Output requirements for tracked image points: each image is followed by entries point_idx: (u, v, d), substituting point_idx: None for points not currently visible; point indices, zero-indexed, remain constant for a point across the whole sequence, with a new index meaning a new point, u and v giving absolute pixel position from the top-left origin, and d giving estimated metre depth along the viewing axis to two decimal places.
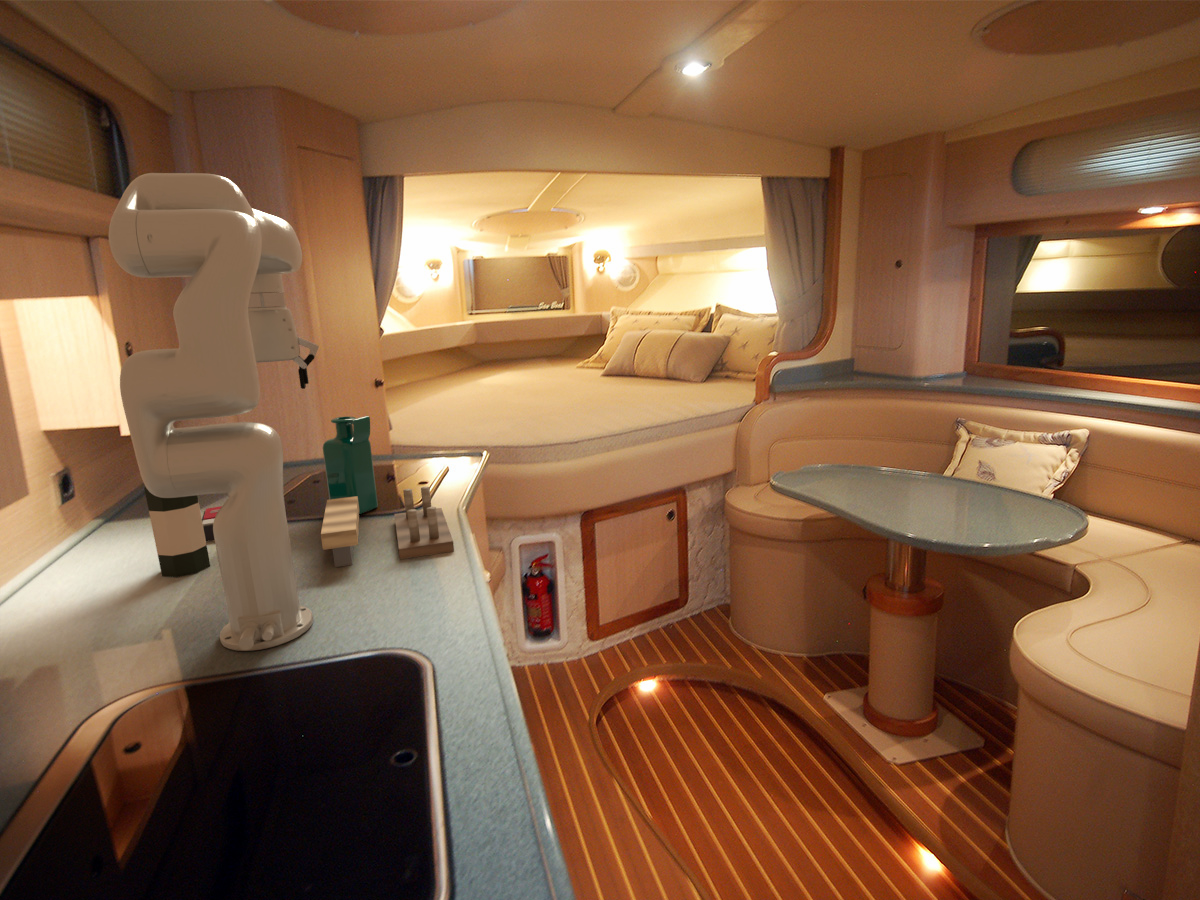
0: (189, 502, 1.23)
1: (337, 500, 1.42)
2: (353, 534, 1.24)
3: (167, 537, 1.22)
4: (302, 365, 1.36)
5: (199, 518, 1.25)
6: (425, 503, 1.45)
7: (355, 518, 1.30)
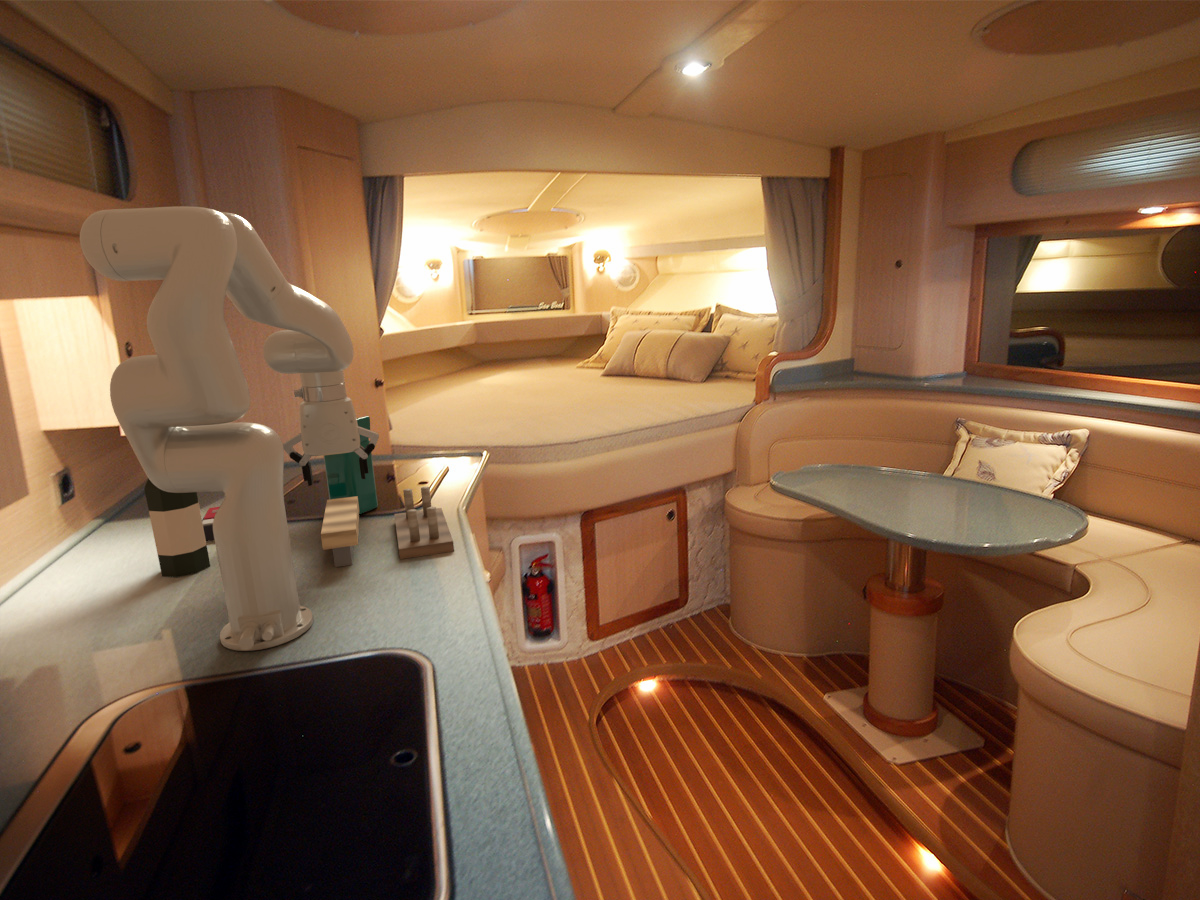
0: (189, 502, 1.23)
1: (337, 500, 1.42)
2: (353, 534, 1.24)
3: (167, 537, 1.22)
4: (363, 455, 1.32)
5: (199, 518, 1.25)
6: (425, 503, 1.45)
7: (355, 518, 1.30)
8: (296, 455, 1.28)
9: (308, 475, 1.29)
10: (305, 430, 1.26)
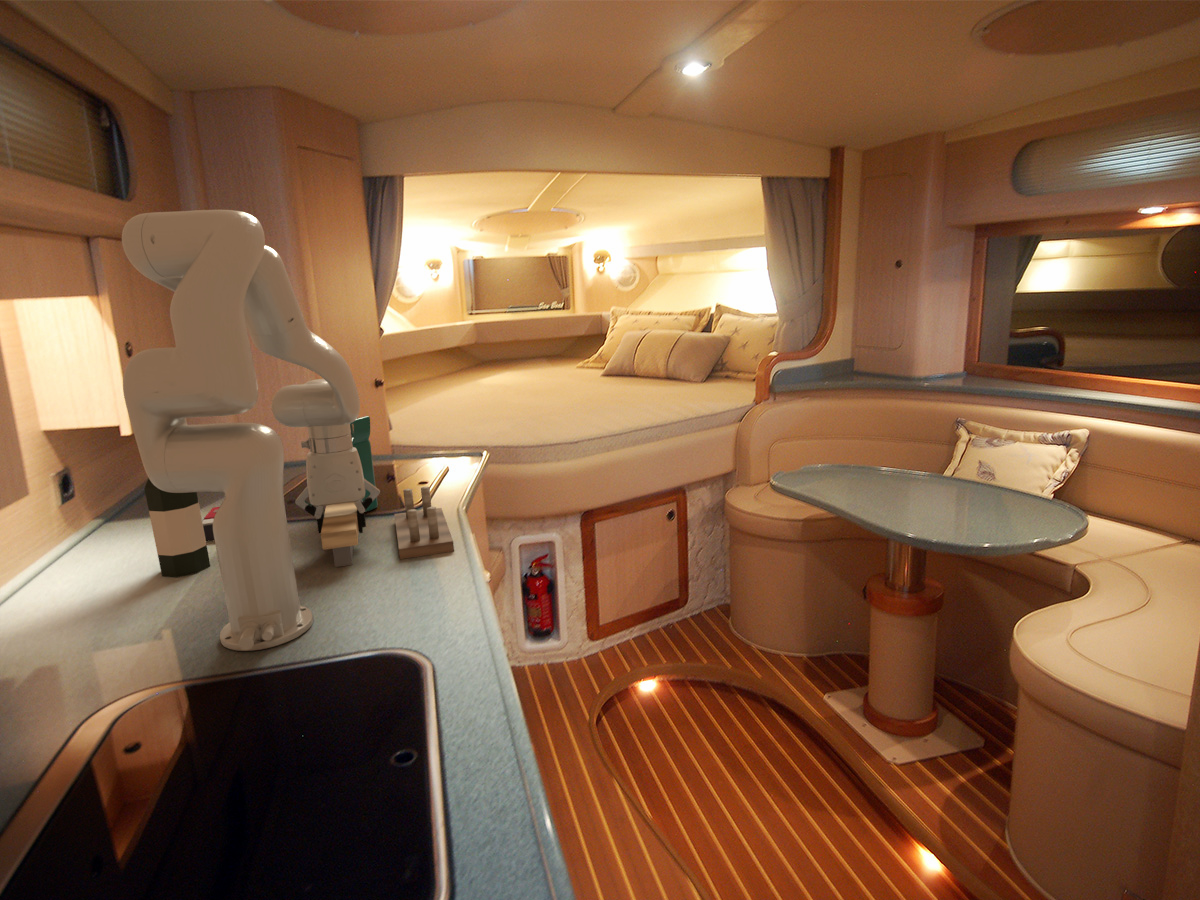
0: (189, 502, 1.23)
1: None
2: (353, 534, 1.24)
3: (167, 537, 1.22)
4: (360, 510, 1.33)
5: (199, 518, 1.25)
6: (425, 503, 1.45)
7: (355, 518, 1.30)
8: (311, 508, 1.30)
9: None
10: (311, 481, 1.28)
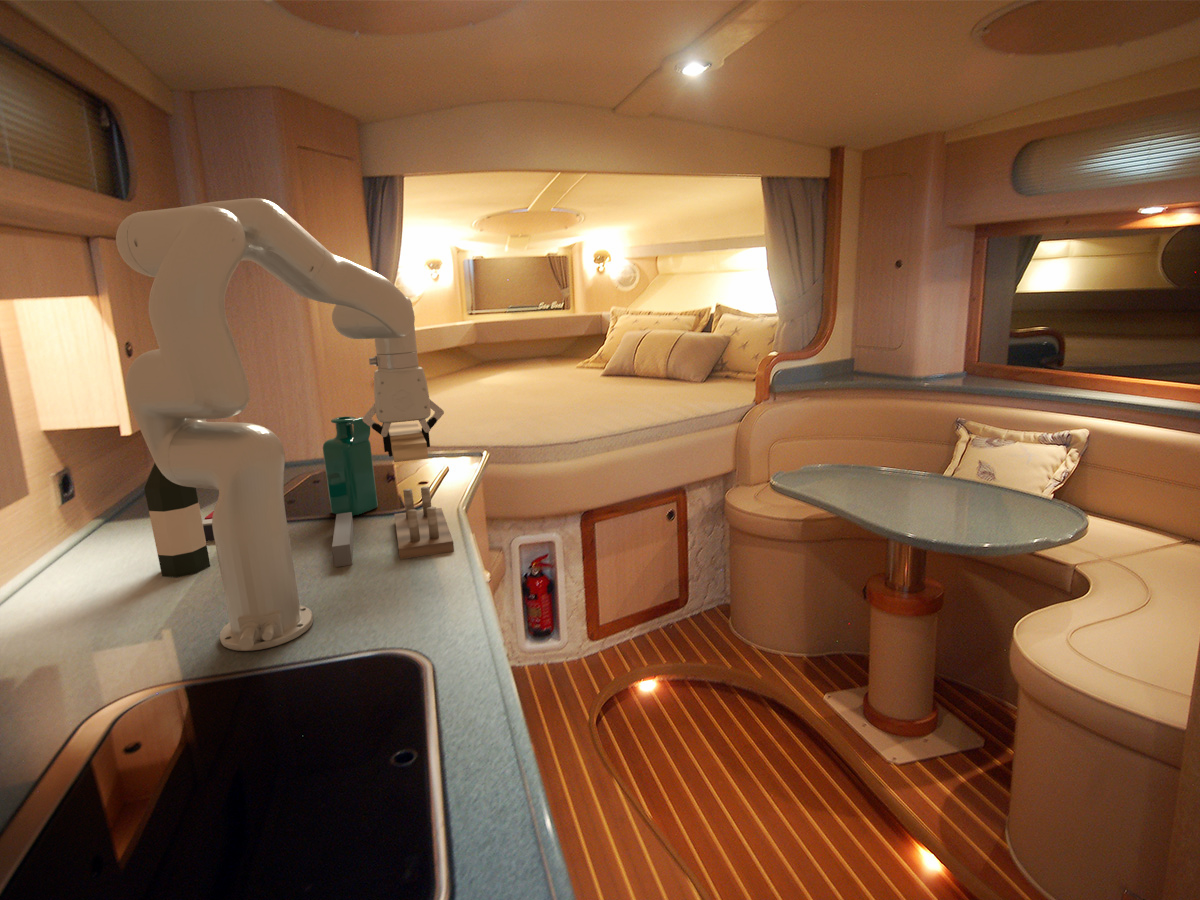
0: (189, 502, 1.23)
1: (398, 424, 1.43)
2: (423, 447, 1.25)
3: (167, 537, 1.22)
4: (425, 429, 1.34)
5: (199, 518, 1.25)
6: (425, 503, 1.45)
7: (422, 435, 1.31)
8: (378, 426, 1.31)
9: (389, 446, 1.32)
10: (380, 397, 1.28)
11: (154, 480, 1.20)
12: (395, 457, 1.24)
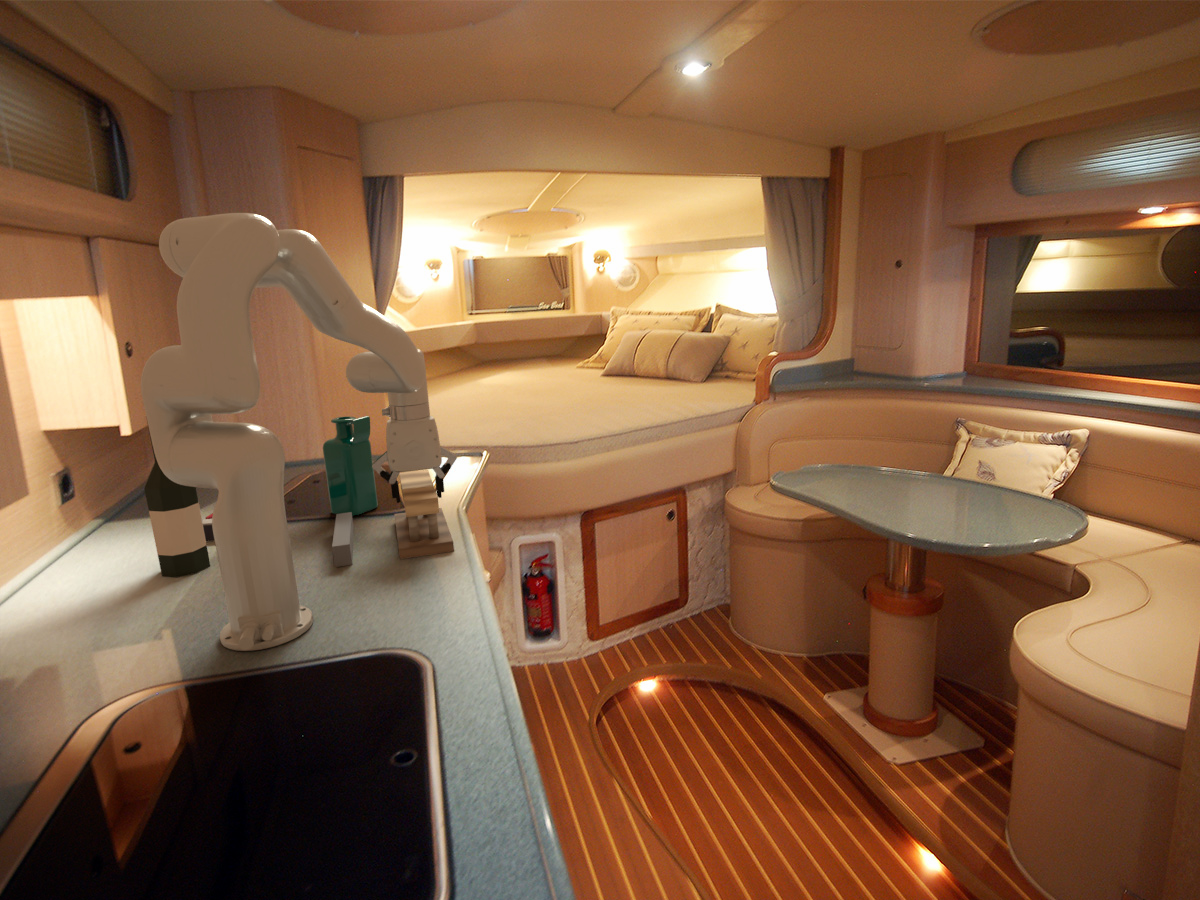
0: (189, 502, 1.23)
1: (410, 473, 1.45)
2: (435, 502, 1.27)
3: (167, 537, 1.22)
4: (440, 475, 1.37)
5: (199, 518, 1.25)
6: None
7: (433, 488, 1.33)
8: (386, 473, 1.34)
9: (397, 493, 1.34)
10: (392, 447, 1.31)
11: (154, 480, 1.20)
12: (407, 512, 1.26)
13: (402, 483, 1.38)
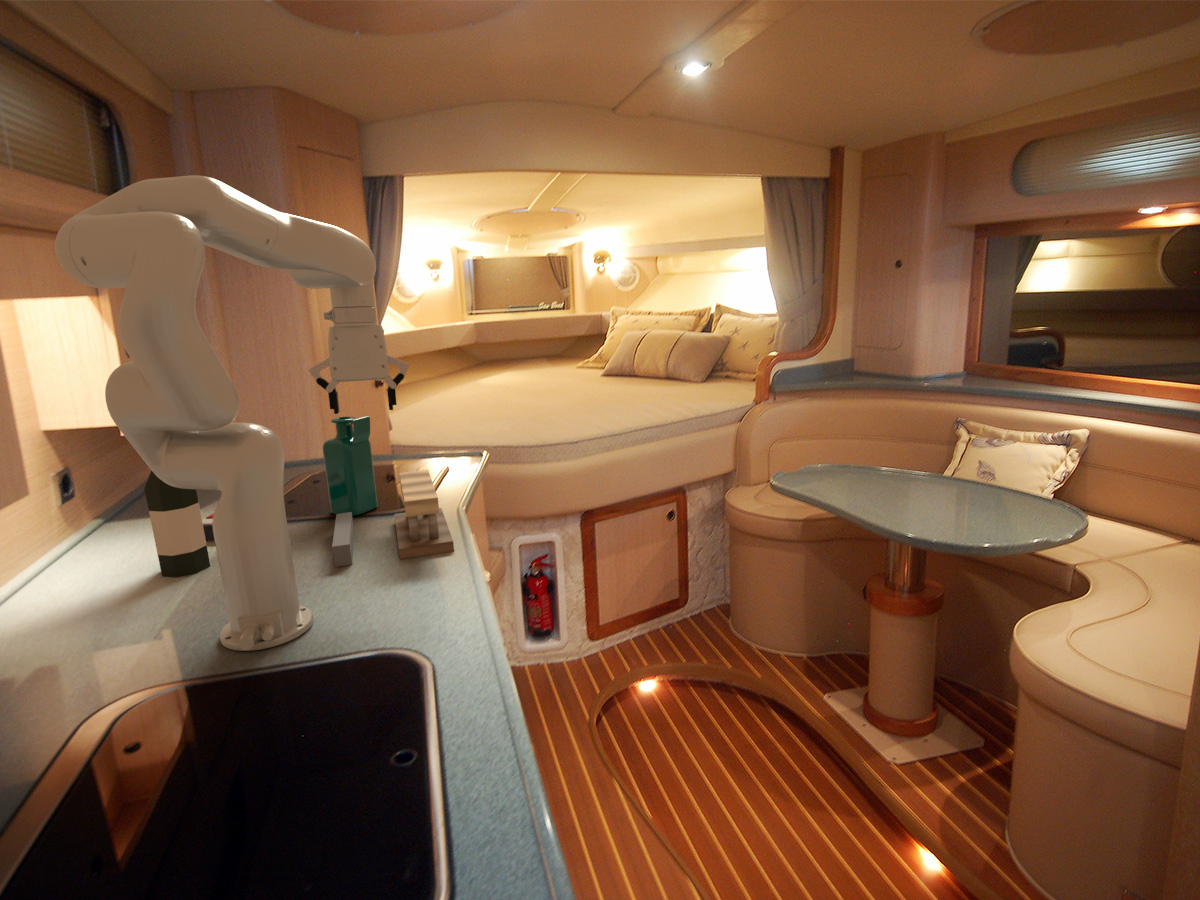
0: (189, 502, 1.23)
1: (410, 473, 1.45)
2: (435, 502, 1.27)
3: (167, 537, 1.22)
4: (391, 385, 1.27)
5: (199, 518, 1.25)
6: None
7: (433, 488, 1.33)
8: (323, 381, 1.23)
9: (334, 402, 1.24)
10: (333, 353, 1.21)
11: (154, 480, 1.20)
12: (407, 512, 1.26)
13: (402, 483, 1.38)
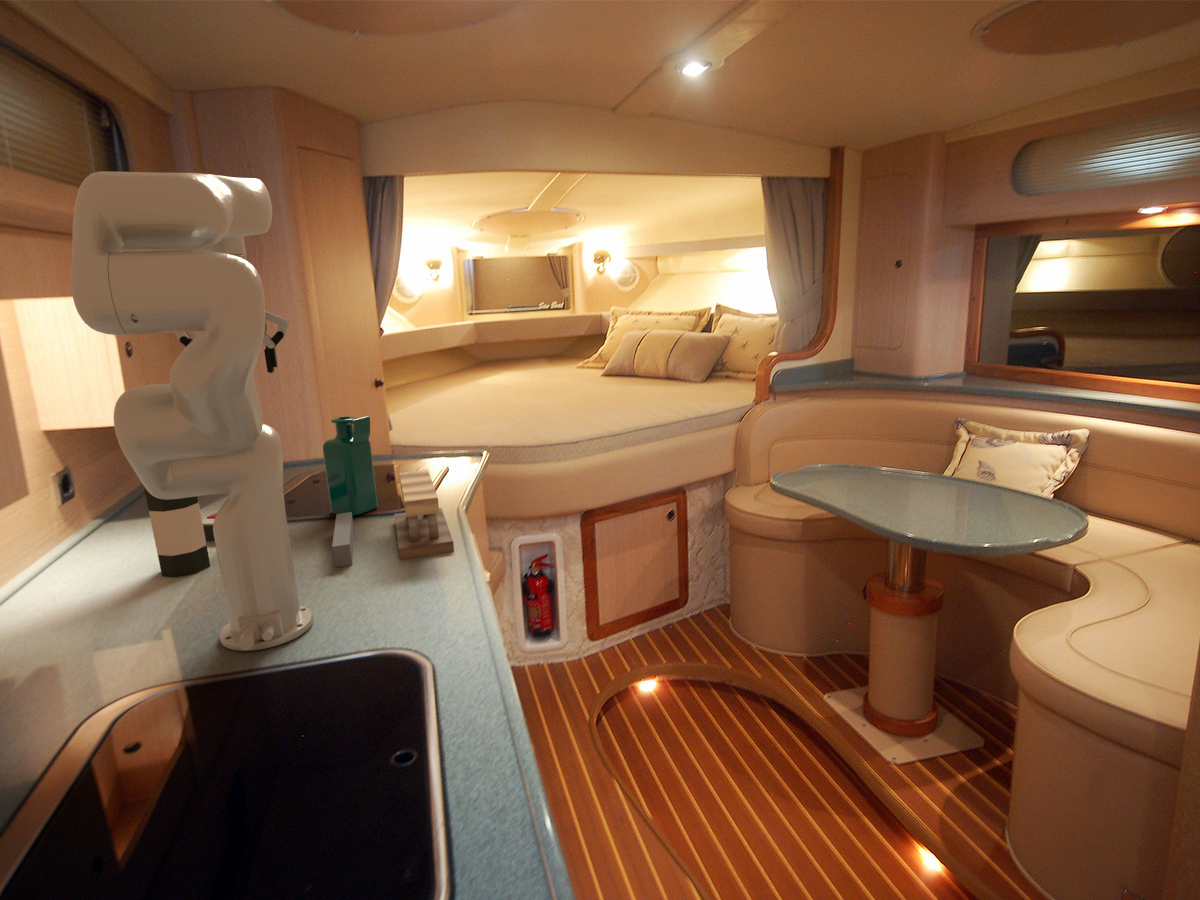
0: (189, 502, 1.23)
1: (410, 473, 1.45)
2: (435, 502, 1.27)
3: (167, 537, 1.22)
4: (269, 344, 1.13)
5: (199, 518, 1.25)
6: None
7: (433, 488, 1.33)
8: (188, 340, 1.09)
9: None
10: None
11: None
12: (407, 512, 1.26)
13: (402, 483, 1.38)
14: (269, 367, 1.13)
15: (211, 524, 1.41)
